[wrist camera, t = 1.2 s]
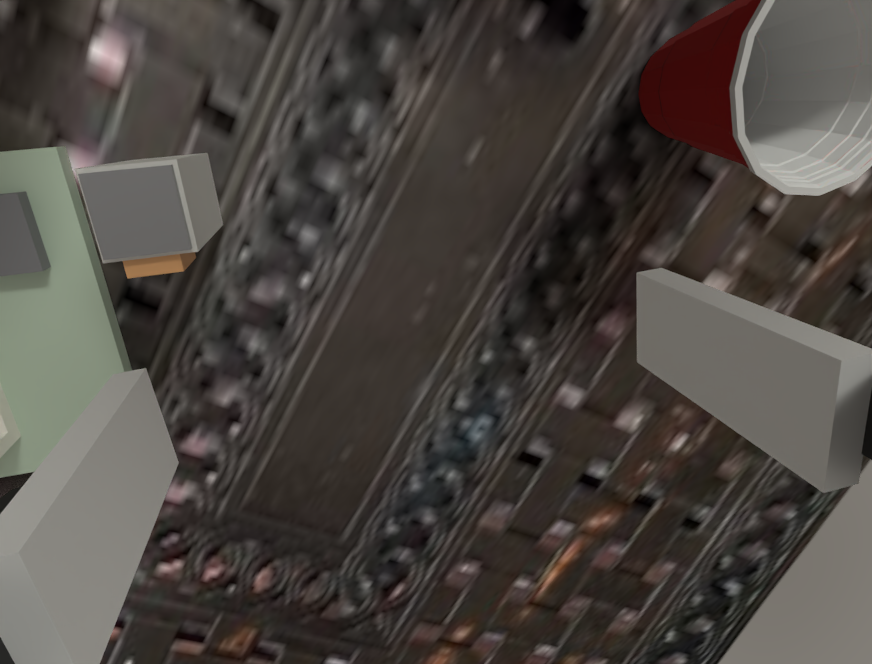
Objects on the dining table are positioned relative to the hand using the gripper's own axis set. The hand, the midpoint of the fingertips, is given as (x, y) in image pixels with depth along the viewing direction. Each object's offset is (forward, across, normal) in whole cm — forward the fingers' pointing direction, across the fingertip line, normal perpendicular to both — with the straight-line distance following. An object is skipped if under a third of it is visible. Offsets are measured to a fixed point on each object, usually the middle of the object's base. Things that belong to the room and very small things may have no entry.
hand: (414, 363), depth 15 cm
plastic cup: (+21, +22, +5) cm, 31 cm away
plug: (+21, -9, +4) cm, 23 cm away
